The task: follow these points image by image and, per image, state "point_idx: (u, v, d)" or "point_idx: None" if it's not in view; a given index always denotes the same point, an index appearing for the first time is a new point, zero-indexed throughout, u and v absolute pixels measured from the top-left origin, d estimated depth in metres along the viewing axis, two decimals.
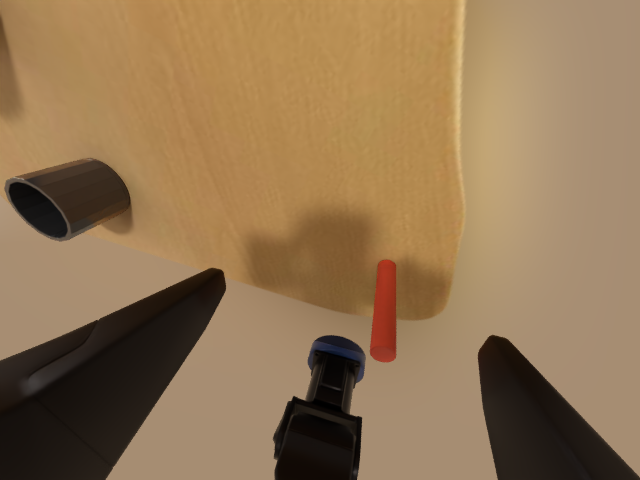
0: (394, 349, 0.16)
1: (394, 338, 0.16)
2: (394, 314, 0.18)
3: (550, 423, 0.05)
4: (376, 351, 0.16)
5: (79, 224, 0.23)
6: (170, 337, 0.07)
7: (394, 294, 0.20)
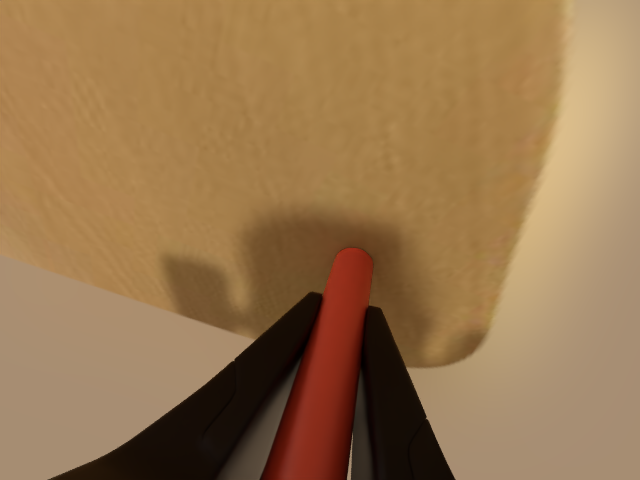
0: None
1: None
2: (345, 419, 0.05)
3: (373, 373, 0.06)
4: None
5: None
6: (292, 373, 0.07)
7: (357, 339, 0.07)
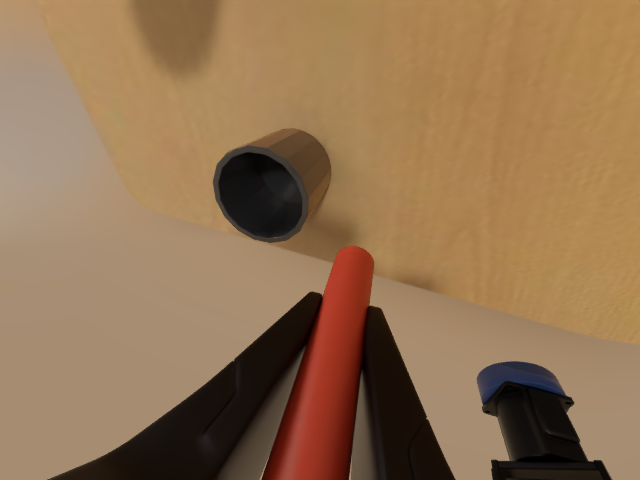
0: None
1: None
2: (347, 418, 0.05)
3: (373, 373, 0.06)
4: None
5: (307, 218, 0.16)
6: (292, 373, 0.07)
7: (359, 338, 0.07)
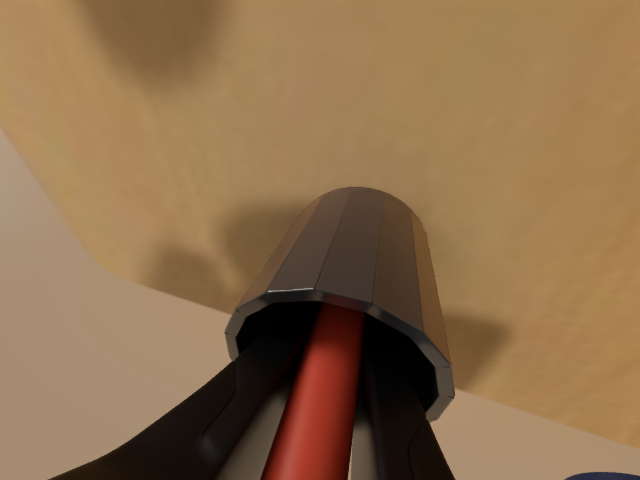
0: None
1: None
2: (346, 417, 0.05)
3: (373, 373, 0.06)
4: None
5: None
6: (292, 373, 0.07)
7: (357, 337, 0.07)
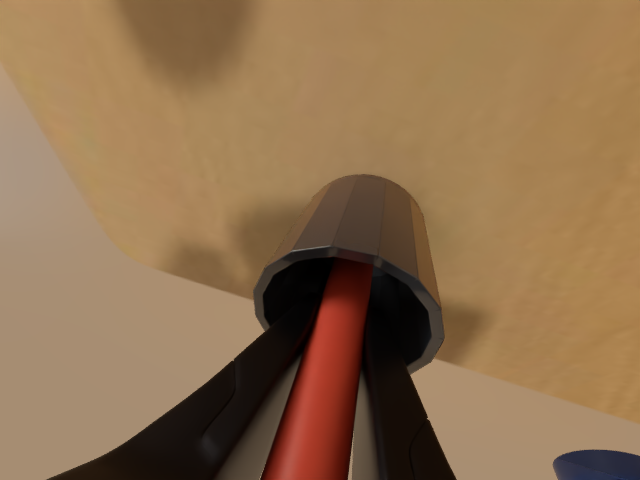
0: None
1: None
2: (346, 417, 0.05)
3: (374, 373, 0.06)
4: None
5: None
6: (291, 373, 0.07)
7: (357, 337, 0.07)
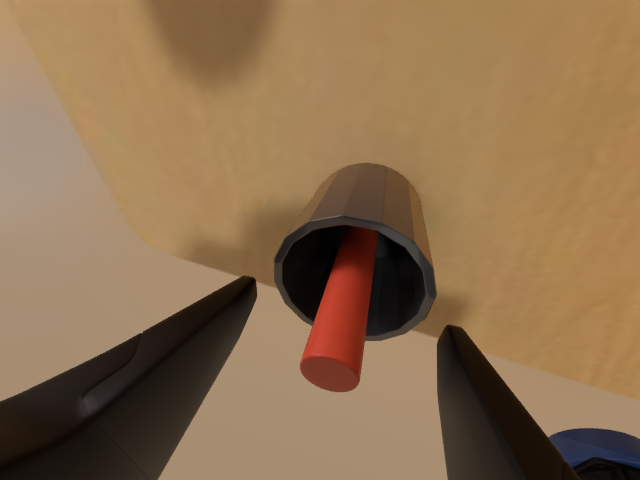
0: (355, 363, 0.06)
1: (359, 336, 0.07)
2: (366, 287, 0.09)
3: (485, 405, 0.05)
4: (311, 367, 0.07)
5: None
6: (209, 349, 0.07)
7: (371, 253, 0.10)
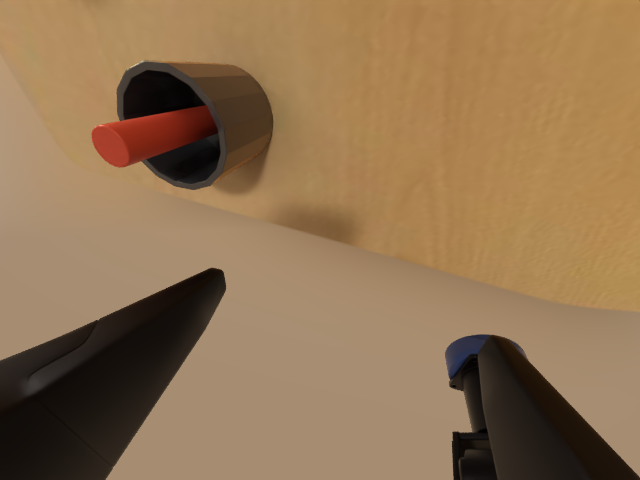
0: (122, 134, 0.10)
1: (139, 130, 0.10)
2: (173, 121, 0.12)
3: (550, 423, 0.05)
4: (98, 141, 0.10)
5: (232, 158, 0.14)
6: (170, 337, 0.07)
7: (199, 115, 0.14)
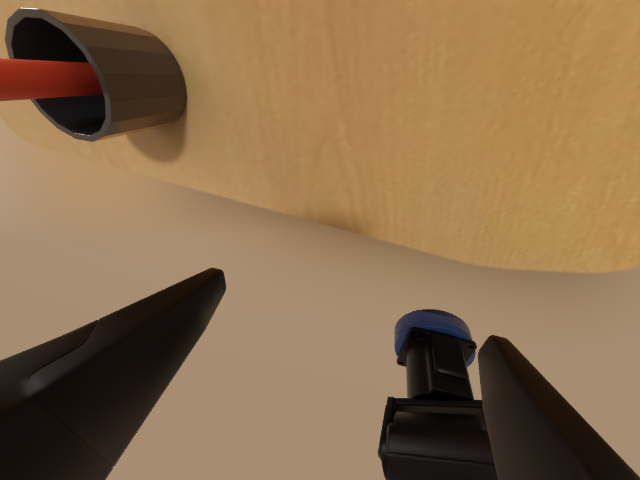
0: None
1: (4, 66, 0.11)
2: (54, 67, 0.13)
3: (550, 423, 0.05)
4: None
5: (123, 109, 0.14)
6: (170, 337, 0.07)
7: (92, 68, 0.14)
